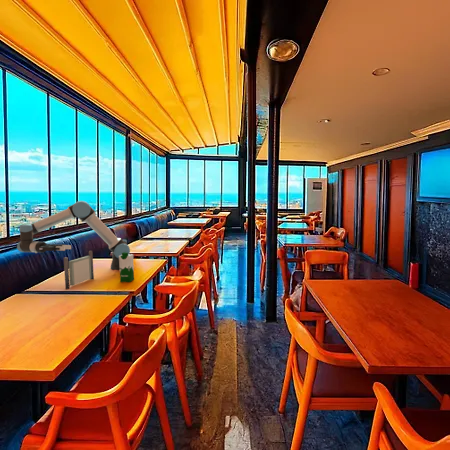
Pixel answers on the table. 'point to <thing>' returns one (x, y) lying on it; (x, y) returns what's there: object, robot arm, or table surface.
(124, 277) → the milk carton
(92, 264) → the posts
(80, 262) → the beige framed panel
